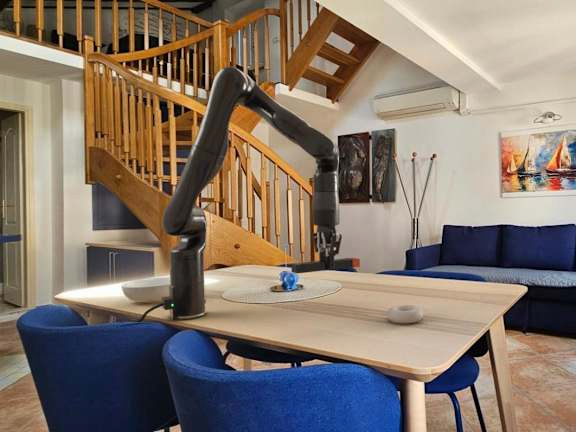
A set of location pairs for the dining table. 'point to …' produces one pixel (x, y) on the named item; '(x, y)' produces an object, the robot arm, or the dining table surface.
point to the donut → (404, 314)
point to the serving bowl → (147, 289)
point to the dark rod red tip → (324, 265)
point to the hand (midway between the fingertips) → (326, 268)
